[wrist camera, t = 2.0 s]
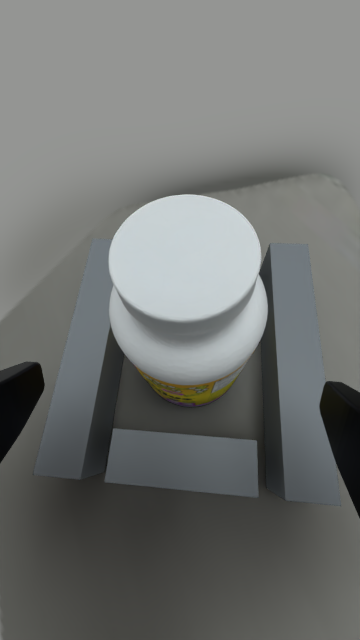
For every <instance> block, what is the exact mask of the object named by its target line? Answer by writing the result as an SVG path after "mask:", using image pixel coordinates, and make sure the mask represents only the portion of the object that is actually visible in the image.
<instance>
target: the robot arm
mask: <svg viewBox="0 0 360 640" xmlns="http://www.w3.org/2000/svg"><path fill="white" fill-rule="evenodd" d="M44 386H45V384H44V378H43V373H42V368H41V365H40V364H39V363H38V362H24V363H21V364H18V365H15V366H12V367H10V368H7V369H4V370H1V371H0V463H1V461H2V460H3V458H4V457H5V455H6V454H7V453H8V451H9V450H10V448H11V447H12V445H13V444H14V442H15V441H16V439H17V438H18V436H19V434H20V433H21V431H22V429H23V428H24V426H25V424H26V422H27V421H28V419H29V417H30V415H31V413H32V411H33V409H34V408H35V406H36V404H37V402H38V400H39V398H40V396H41V395H42V393H43V390H44ZM319 409H320V414H321V417H322V420H323V424H324V427H325V430H326V434H327V437H328V440H329V443H330V447H331V450H332V453H333V456H334V459H335V461H336V464H337V466H338V469H339V471H340V474H341V476H342V478H343V481H344V483H345V485H346V488H347V490H348V492H349V495H350V497H351V499H352V502H353V504H354V506H355V509H356V511H357V513H358V516H359V518H360V392H358V391H356V390H354V389H353V388H351V387H349V386H347V385H345V384H344V383H342V382H333V381H327V382H326V383H325V384H324V387H323V391H322V395H321V399H320V404H319Z"/></svg>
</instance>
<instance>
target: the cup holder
mask: <svg viewBox="0 0 360 640" xmlns="http://www.w3.org/2000/svg"><path fill="white" fill-rule="evenodd" d="M112 240H113V239H92V243H91V247H90V251H89V255H88V259H87V263H86V267H85V271H84V275H83V279H82V283H81V286H80V290H79V294H78V298H77V302H76V306H75V310H74V314H73V318H72V322H71V326H70V330H69V334H68V338H67V341H66V345H65V349H64V353H63V357H62V361H61V365H60V369H59V373H58V377H57V381H56V385H55V389H54V393H53V396H52V400H51V404H50V408H49V412H48V416H47V420H46V424H45V428H44V432H43V436H42V440H41V444H40V448H39V451H38V455H37V459H36V463H35V467H34V471H33V475H38V476H48V477H58V478H68V479H78V480H81V479H84V478H87V477H90V476H93V475H96V474H100V473H103V472H105V466H106V460H107V454H108V448H109V442H110V436H111V430H112V424H113V418H114V411H115V405H116V399H117V393H118V387H119V381H120V375H121V369H122V363H123V357H124V353H123V351H122V350H121V348H120V347H119V345H118V343H117V341H116V339H115V337H114V334H113V331H112V328H111V323H110V317H109V304H110V296H111V292H112V288H113V286H114V285H113V282H112V279H111V276H110V273H109V250H110V246H111V243H112ZM259 276H260V278H261V280H262V282H263V285H264V288H265V291H266V296H267V303H268V315H267V321H266V326H265V330H264V333H263V335H262V338H261V359H262V385H263V411H264V438H265V464H266V488H267V489H269V490H270V491H272V492H273V493H275V494H276V495H278V496H279V497H281V498H282V499H284V500H286V501H295V502H304V503H314V504H324V505H334V506H341V500H340V492H339V485H338V477H337V469H336V461H335V459H334V456H333V453H332V450H331V447H330V443H329V440H328V437H327V434H326V430H325V427H324V424H323V420H322V417H321V414H320V409H319V404H320V399H321V395H322V391H323V387H324V384H325V375H324V367H323V359H322V351H321V343H320V335H319V328H318V320H317V312H316V304H315V296H314V288H313V281H312V273H311V265H310V257H309V249H308V244H281V243H270V245H269V247H268V250H267V253H266V256H265V258H264V261H263V264H262V267H261V269H260V272H259ZM105 482H107V483H117V484H127V485H137V486H147V487H157V488H166V489H176V490H186V491H196V492H206V493H216V494H226V495H235V496H245V497H255V498H259V497H258V461H257V440H246V439H234V438H222V437H210V436H198V435H186V434H174V433H163V432H151V431H139V430H127V429H115V428H113V433H112V439H111V445H110V451H109V457H108V463H107V469H106V475H105Z"/></svg>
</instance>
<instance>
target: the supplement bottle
mask: <svg viewBox="0 0 360 640" xmlns="http://www.w3.org/2000/svg"><path fill="white" fill-rule="evenodd" d="M260 265H261V248H260V243H259V240H258V237H257V234H256V232H255V230H254V229H253V227H252V225H251V224H250V223H249V221H248V220H247V219H246V218H245V217H244V216H243V215H242V214H241V213H240V212H239V211H237V210H236V209H234V208H233V207H231V206H230V205H228V204H226V203H224V202H222V201H219V200H216V199H213V198H210V197H206V196H200V195H176V196H168V197H165V198H161V199H158V200H155V201H153V202H150V203H148V204H146V205H145V206H143V207H141V208H140V209H138V210H137V211H135V212H134V213H133V214H132V215H130V216H129V217H128V218H127V219H126V220H125V221H124V223H123V224H122V225H121V227H120V228H119V229H118V231H117V232H116V234H115V236H114V238H113V240H112V243H111V246H110V250H109V273H110V276H111V279H112V282H113V285H114V286H113V288H112V292H111V296H110V304H109V317H110V323H111V328H112V331H113V334H114V337H115V339H116V341H117V343H118V345H119V347H120V348H121V350H122V351H123V353H124V354H125V355H126V356H127V358H128V359H129V360H130V361H131V362H132V364H133V365H134V366H135V367H136V369H137V370H138V371H139V372H140V374H141V375H142V376H143V377H144V378H145V380H146V381H147V382H148V383H149V384H150V386H151V387H152V388H153V389H154V390H155V391H156V392H157V393H158V394H159V395H160V396H161V397H162V398H164V399H166V400H167V401H169V402H171V403H173V404H176V405H180V406H185V407H197V406H203V405H206V404H209V403H211V402H213V401H215V400H217V399H218V398H220V397H221V396H222V395H223V394H224V393H226V392H227V390H228V389H229V388H230V387H231V386H232V384H233V383H234V381H235V380H236V378H237V377H238V375H239V374H240V372H241V371H242V369H243V367H244V366H245V364H246V363H247V361H248V360H249V358H250V357H251V355H252V354H253V352H254V351H255V349H256V347H257V345H258V343H259V342H260V340H261V338H262V335H263V333H264V330H265V326H266V321H267V315H268V303H267V296H266V291H265V288H264V285H263V282H262V280H261V278H260V276H259V270H260Z"/></svg>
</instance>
